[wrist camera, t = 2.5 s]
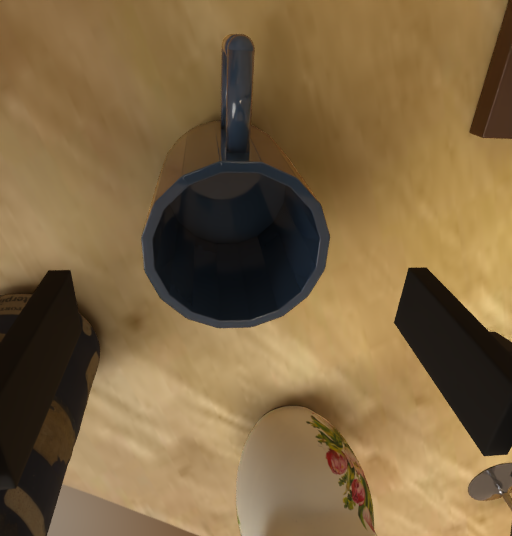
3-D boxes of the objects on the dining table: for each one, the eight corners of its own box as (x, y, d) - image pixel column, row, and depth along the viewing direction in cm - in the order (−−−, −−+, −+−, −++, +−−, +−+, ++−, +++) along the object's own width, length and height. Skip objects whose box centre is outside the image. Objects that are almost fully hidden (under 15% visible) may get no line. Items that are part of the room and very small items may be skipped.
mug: (284, 245, 30) (316, 326, 22) (164, 245, 29) (149, 330, 20) (305, 38, 23) (361, 41, 15) (150, 29, 22) (121, 26, 14)
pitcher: (300, 495, 46) (335, 657, 34) (188, 418, 37) (182, 596, 26) (384, 447, 43) (453, 604, 31) (283, 354, 35) (326, 518, 23)
